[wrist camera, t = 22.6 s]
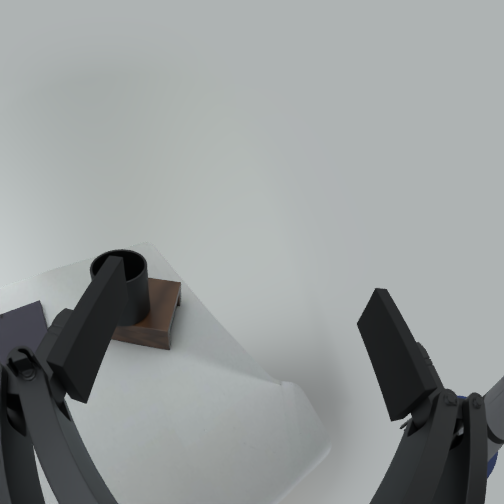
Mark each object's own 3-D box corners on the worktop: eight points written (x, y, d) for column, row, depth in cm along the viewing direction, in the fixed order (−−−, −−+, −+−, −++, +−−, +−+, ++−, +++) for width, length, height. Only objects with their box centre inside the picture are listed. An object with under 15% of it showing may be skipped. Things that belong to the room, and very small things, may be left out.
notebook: (67, 385, 31) (41, 305, 43) (63, 380, 31) (39, 300, 42) (9, 407, 23) (-4, 322, 35) (5, 403, 22) (-7, 317, 34)
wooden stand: (180, 301, 54) (181, 274, 51) (169, 350, 43) (167, 323, 40) (114, 290, 53) (110, 263, 49) (92, 334, 42) (83, 307, 38)
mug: (161, 288, 49) (160, 247, 45) (139, 333, 39) (132, 290, 34) (118, 278, 49) (113, 238, 44) (90, 319, 39) (78, 276, 34)
